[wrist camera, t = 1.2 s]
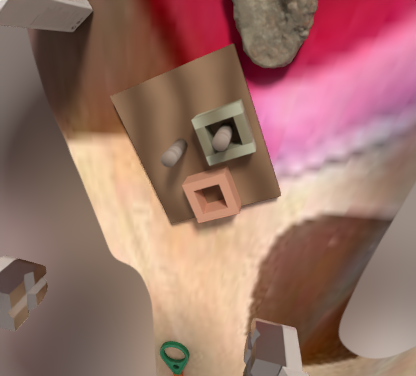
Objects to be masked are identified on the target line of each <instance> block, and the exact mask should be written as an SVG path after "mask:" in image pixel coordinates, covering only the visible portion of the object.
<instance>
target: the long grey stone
mask: <svg viewBox="0 0 416 376" xmlns="http://www.w3.org/2000/svg"><path fill="white" fill-rule="evenodd" d="M232 2H233V5H234V7H233V9H234V12H233V18H234V20H235V22H236V28H237V30H238V32H239V33H240V35H241V38H242V43H243V51H244V52H245V53H246V55H247V56H248V57H250V58H251V61H252V62H253V63H254V64H256V65H258V66H260V67H262V68H272V69H274V68H276V67H284V66H286V65H287V64H290V63H291V62H292V60H293V58H294V57H295V56H296V53H297V51H298V49H299V47H300V46H301V45H302V44H303V42H304V40H306V39H307V38H308V35H309V31H310V29H311V27H312V25H313V22H314V21H313V20H314V14H315V12H316V10H317V8H318V0H232Z"/></svg>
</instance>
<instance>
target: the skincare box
mask: <svg viewBox="0 0 416 376" xmlns="http://www.w3.org/2000/svg"><path fill="white" fill-rule="evenodd" d="M92 11H93V10H92V7H91V6H90V4H89V2H88V1H87V0H0V25H2V26H12V27H22V28H33V29H43V30H54V31H64V32H74V31H75V30H76V28H77V27H78V26H79V25H80V24H81V23H82V22H83V21H84V20H85V19H86V18H87V17H88V16H89V15H90V13H92Z"/></svg>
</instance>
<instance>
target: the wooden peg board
mask: <svg viewBox="0 0 416 376" xmlns="http://www.w3.org/2000/svg"><path fill="white" fill-rule="evenodd" d="M110 97H111V99H112V101H113V103H114V106H115V108H116V110H117V112H118V114H119V116H120V118H121V120H122V122H123V124H124V126H125V128H126V130H127V132H128V134H129V137H130V139H131V141H132V143H133V145H134V147H135V149H136V151H137V153H138V155H139V157H140V159H141V161H142V163H143V165H144V168H145V170H146V172H147V174H148V176H149V178H150V180H151V182H152V184H153V186H154V188H155V190H156V192H157V194H158V196H159V199H160V201H161V203H162V205H163V207H164V209H165V211H166V213H167V215H168V217H169V219H170V221H171V223H174V222H178V221H182V220H186V219H190V218H194V217H196V216H195V214H194V212H193V209H192V207H191V205H190V203H189V200H188V198H187V196H186V194H185V191H184V189H183V187H182V184H183V183H184V181H185V180H186V178H187V177H188V176H191V175H194V174H198V173H201V172H204V171H208V170H211V169H214V168H218V167H221V166H225V165H228V168H229V171H230V173H231V176H232V179H233V181H234V184H235V187H236V189H237V192H238V195H239V198H240V200H241V206H243V205H247V204H251V203H255V202H259V201H263V200H267V199H271V198H275V197H279V196H281V192H280V188H279V185H278V182H277V179H276V176H275V172H274V169H273V166H272V163H271V159H270V156H269V153H268V150H267V147H266V143H265V140H264V137H263V134H262V130H261V127H260V124H259V121H258V118H257V114H256V111H255V108H254V105H253V101H252V98H251V95H250V92H249V89H248V85H247V82H246V79H245V76H244V72H243V69H242V66H241V63H240V59H239V56H238V53H237V50H236V47H235V44H234V43H233V44H231V45H228V46H226V47H224V48H221V49H219V50H217V51H215V52H212V53H210V54H208V55H205V56H203V57H201V58H198V59H196V60H194V61H191V62H189V63H187V64H184V65H182V66H180V67H177V68H175V69H173V70H170V71H168V72H166V73H164V74H161V75H159V76H157V77H154V78H152V79H150V80H147V81H145V82H143V83H140V84H138V85H136V86H133V87H131V88H129V89H126V90H124V91H122V92H119V93H117V94H115V95H113V96H110ZM201 190H202V192H203V194H204V197H205V199H206V202H207V203H211V202H215V201H219V200H223V199H225V198H224V196H223V193H222V191H221V188H220V185H219V184H217V185H214V186H210V187H206V188H203V189H201Z"/></svg>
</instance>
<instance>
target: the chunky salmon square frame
mask: <svg viewBox="0 0 416 376" xmlns="http://www.w3.org/2000/svg"><path fill="white" fill-rule="evenodd" d="M217 184H219V185H220V188H221V191H222V193H223V196H224V198H225V199H223V200H219V201H215V202H211V203H207V202H206V199H205V197H204V194H203V192H202V190H201V189H203V188H206V187H210V186H214V185H217ZM182 187H183V189H184V191H185V194H186V196H187V198H188V200H189V203H190V205H191V207H192V209H193V212H194V214H195V216H196V218H197V221H198V223H201V222H205V221H210V220H214V219H218V218H222V217H226V216H230V215H235V214H239V213H240V208H241V200H240V198H239V195H238V192H237V189H236V187H235V184H234V181H233V179H232V176H231V173H230V171H229V168H228V165H225V166H221V167H218V168H214V169H211V170H208V171H204V172H201V173H198V174H194V175H191V176H188V177H187V178H186V180H185V181H184V183H183V184H182Z"/></svg>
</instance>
